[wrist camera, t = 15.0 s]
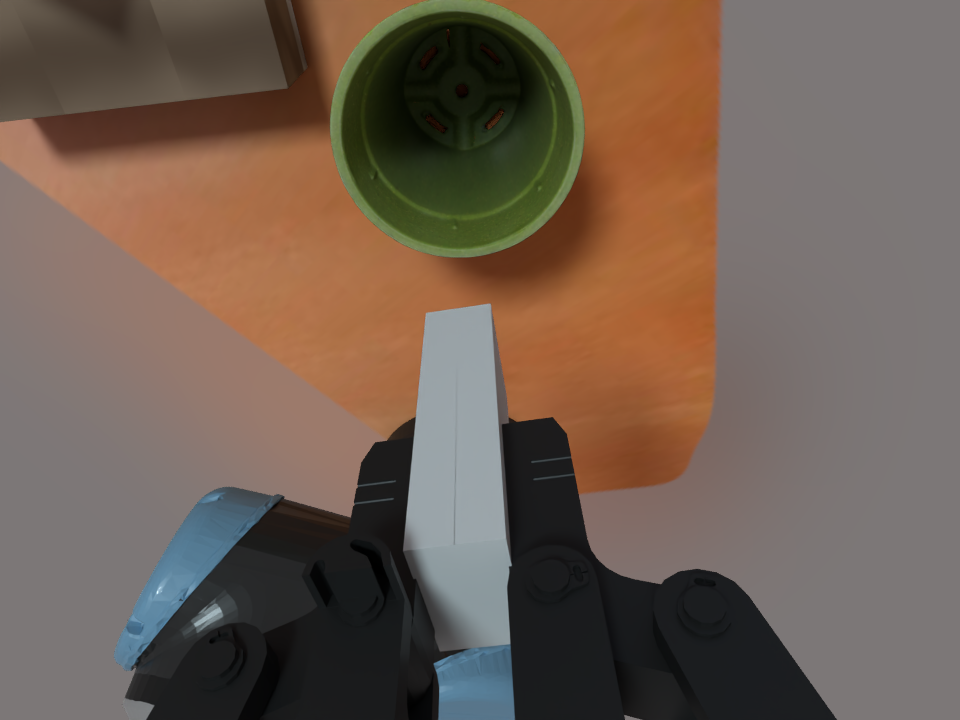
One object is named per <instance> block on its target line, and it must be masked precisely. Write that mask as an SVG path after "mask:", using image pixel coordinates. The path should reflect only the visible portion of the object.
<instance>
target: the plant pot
mask: <svg viewBox="0 0 960 720" xmlns="http://www.w3.org/2000/svg"><path fill="white" fill-rule="evenodd" d="M447 29H449V31H450V32H449V33H450V35H449V36H450V37H449V38H450V46H448V42H447V34H446V31H447ZM480 42H481V43H482V44H483V45H484V46H485V47H486V48H487V49H490V50H491V51H493V52H494V54H496V55H497V57H498V58H499V59H500V64H498V65H497V64H495V62H494V61H493V60H492V59H491V58H490V57H489V56H488V55H487V54H486V53H484V52H483V51H482V50H480V47H481V43H480ZM434 46H436V47H437V49H438V53H437V55H436V56H435V57H434V58H433V59H432V60H431V61H430V63H429V64H428V66H427V67H426V69H425V70H422V69H421V67H420V61H421V59H422V58H423V56H424V55H425V53H426V52H427V51H428V50H430V49H431V47H434ZM449 48H450V49H449ZM461 84H463V85H465V86H467V88H468V93H467V95H466V96H465V97H459V96H458V95H457V94H456V88H457V86H458V85H461ZM414 102H416V103H414ZM417 102H418V103H417ZM500 106H501V107H500ZM499 108H500V109H503V110H504V114H503V115H502V117H501V118H500V120H499V121H498V122H497V123H496V124H495V125H494V126H493V127H492V128H491V129H489V130H488V129H486V128H485V124H486V123H487V122H488V121H489V120H490V119H491V118H492V117H493V116H494V115H495V114H496V113H497V112H498V109H499ZM429 114H431V115H432V116H433V117H434V118H435V119H436V120H437V121H438V122H439V123H440V124H441V125H443V126H445V127H447V130H446V131H445V132H444V133H441V132H439V131H438V130H436V129H435V128H434V127H433V126H432V125H430V124H429V123H428V122H427V121H426V117H427V116H428V115H429ZM584 135H585V125H584V113H583V107H582V102H581V97H580V93H579V90H578V87H577V84H576V81H575V79H574V76H573V74H572V72H571V69H570V68H569V66H568V64H567V62H566V61H565V59H564V57H563V56H562V55H561V53H560V52H559V50H558V49H557V47H556V46H555V45H554V44H553V43H552V42H551V41H550V40H549V38H548V37H547V36H546V35H545V34H544V33H543V32H542V31H540V30H539V29H538V28H537V27H536V26H535V25H533V24H532V23H531V22H529V21H528V20H526V19H525V18H523V17H522V16H520V15H518V14H516V13H515V12H512V11H510V10H508V9H506V8H504V7H502V6H499V5H496V4H493V3H490V2H487V1H483V0H428V1H424V2H420V3H417V4H414V5H411V6H409V7H406V8H404V9H402V10H400V11H398V12H396V13H394V14H393V15H391V16H389V17H388V18H386V19H384V20H383V21H382V22H380V23H379V24H378V25H376V26H375V27H374V28H373V29H372V30H371V31H370V32H369V33H368V34H367V35H366V36H365V37H364V38H363V39H362V40H361V41H360V43H359V44H358V45H357V46H356V48H355V49H354V50H353V52H352V53H351V55H350V57H349V58H348V60H347V62H346V63H345V65H344V67H343V69H342V71H341V74H340V76H339V79H338V82H337V85H336V88H335V92H334V95H333V100H332V106H331V115H330V136H331V144H332V150H333V155H334V159H335V162H336V166H337V169H338V172H339V174H340V177H341V179H342V182H343V184H344V185H345V187H346V189H347V191H348V192H349V194H350V196H351V197H352V199H353V200H354V202H355V203H356V205H357V206H358V207H359V209H360V210H361V211H362V213H363V214H364V215H365V216H366V217H367V218H368V219H369V220H370V221H371V222H372V223H373V224H374V225H375V226H377V227H378V228H379V229H380V230H381V231H383V232H384V233H385V234H387V235H388V236H390V237H392V238H393V239H394V240H396V241H398V242H399V243H401V244H403V245H405V246H407V247H410V248H412V249H414V250H417V251H420V252H423V253H427V254H431V255H435V256H441V257H477V256H483V255H488V254H492V253H495V252H498V251H501V250H504V249H507V248H509V247H511V246H514V245H516V244H518V243H519V242H521V241H523V240H525V239H526V238H528V237H529V236H531V235H532V234H534V233H535V232H536V231H537V230H538V229H540V228H541V227H542V226H543V225H544V224H545V223H546V222H547V221H548V220H549V219H550V218H551V217H552V216H553V215H554V214H555V213H556V211H557V210H558V209H559V207H560V206H561V204H562V203H563V201H564V200H565V198H566V197H567V195H568V193H569V191H570V189H571V187H572V185H573V183H574V181H575V178H576V176H577V173H578V170H579V167H580V163H581V159H582V154H583V147H584ZM474 136H475V139H474Z"/></svg>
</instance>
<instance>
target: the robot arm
mask: <svg viewBox="0 0 960 720" xmlns="http://www.w3.org/2000/svg"><path fill="white" fill-rule="evenodd" d="M357 485H358V488H357V489H356V494H355V499H354V504H355V505H354V506H353V510H352V515H351V518H350V517H346V516H343V515H339V514H335V513H332V512H329V511H325V510H321V509H318V508H314V507H311V506H307V505H304V504H300V503H297V502H293V501H289V500H286V499H284V496H282V495H279V494H277V495H274V496H271V495H266V494H262V493H257V492H253V491H248V490H244V489H239V488H235V487H222V488H219V489H216V490H214V491H212V492H210V493H208V494H206V495H205V496H204V497H203V498H202V499H201V500H200V501H199V502H198V503H197V504H196V505H195V506H194V508H193V509H192V511H191V512H190V513H189V515H188V516H187V517H186V519H185V520H184V522H183V523H182V525H181V526H180V528H179V529H178V531H177V533H176V534H175V536H174V538H173V539H172V541H171V542H170V544H169V546H168V547H167V549H166V550H165V552H164V554H163V555H162V557H161V559H160V561H159V562H158V564H157V566H156V567H155V569H154V571H153V573H152V575H151V576H150V578H149V580H148V582H147V584H146V586H145V587H144V589H143V591H142V593H141V595H140V597H139V599H138V601H137V603H136V605H135V607H134V609H133V614H132V615H131V617H130V618H129V621H128V623H127V625H126V627H125V629H124V630H123V632H122V633H121V635H120V638H119V640H118V643H117V645H116V649H115V653H114V658H115V660H116V663H118V664H119V665H121V666H122V667H123V669H124V670H126V671H127V670H128V671H132V670H133V669H134V668H136V670H135V674H134V676H133V679H132V681H131V684H130V686H129V688H128V691H127V693H126V696H125V698H124V701H123V704H122V705H123V707H124V709H125V712H126V714H127V716H128V718H129V720H625V717H624V715H627V716H630V717H634V718H639V719H642V720H837V719H836V718H835V716H834V715H833V714H832V712H831V711H830V709H829V708H828V707H827V705H826V704H825V702H824V701H823V700H822V698H821V697H820V695H819V694H818V693H817V691H816V690H815V689H814V687H813V686H812V684H811V683H810V681H809V680H808V679H807V677H806V676H805V675H804V673H803V672H802V670H801V669H800V667H799V666H798V665H797V663H796V662H795V660H794V659H793V658H792V656H791V655H790V653H789V652H788V651H787V649H786V648H785V646H784V645H783V644H782V642H781V641H780V639H779V638H778V636H777V635H776V634H775V633H774V631H773V629H772V628H771V627H770V626H769V624H768V622H767V621H766V620H765V618H764V617H763V616H762V614H761V613H760V611H759V610H758V608H757V607H756V606H755V604H754V603H753V601H752V600H751V599H750V597H749V596H748V595H747V594H746V593H745V592H744V591H743V590H742V589H741V588H740V587H739V586H738V585H737V584H736V583H735V582H734V581H732V580H730V579H728V578H726V577H724V576H722V575H720V574H719V573H717V572H712V571H706V570H700V569H693V570H687V571H680V572H677V573H676V574H674V575H672V576H670V577H669V578H667V579H665V580H664V582H663V583H662V584H656V583H651V582H645V581H640V580H635V579H631V578H628V577H624V576H621V575H619V574H617V573H615V572H613V571H611V570H609V569H608V568H606V567H605V566H604V565H603V564H602V563H601V562H599V561H598V559H597V558H596V557H595V555H594V554H593V552H592V551H591V548H590V546H589V543H588V540H587V535H586V531H585V525H584V520H583V515H582V509H581V504H580V499H579V494H578V489H577V484H576V479H575V474H574V468H573V463H572V459H571V453H570V448H569V443H568V438H567V434H566V433H565V431H564V430H563V429H562V428H561V427H560V425H559V424H558V423H557V422H556V421H555V420H554V418H553V417H551V418H543V419H536V420H528V421H521V422H515V421H514V420H512V419H510V418H508V407H507V395H506V390H505V384H504V378H503V372H502V366H501V361H500V355H499V349H498V343H497V338H496V332H495V326H494V320H493V315H492V309H491V304H484V305H477V306H471V307H464V308H457V309H450V310H443V311H437V312H430V313H426V318H425V329H424V339H423V349H422V360H421V370H420V381H419V391H418V401H417V412H416V417H415V418H413V419H411V420H409V421H408V422H406V423H404V424H403V425H402V426H400V427H399V428H398V429H397V430H396V431H395V432H394V433H393V434H392V435H391V436H390V437H389V439H388V440H387V441H383V442H375V444H374V445H373V446H372V448H371V449H370V451H369V452H368V454H367V455H366V457H365V458H364V459H363V461H362V462H361V467H360V473H359V479H358V484H357Z"/></svg>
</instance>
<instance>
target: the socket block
mask: <svg viewBox="0 0 960 720" xmlns="http://www.w3.org/2000/svg"><path fill="white" fill-rule="evenodd" d="M307 68H308V67H307V63H306V59H305V55H304V51H303V47H302V43H301V39H300V35H299V31H298V27H297V23H296V19H295V15H294V11H293V7H292V3H291V0H0V122H5V121H14V120H22V119H31V118H39V117H48V116H56V115H65V114H73V113H82V112H90V111H99V110H108V109H116V108H125V107H133V106H142V105H150V104H159V103H167V102H176V101H184V100H193V99H201V98H210V97H219V96H227V95H236V94H244V93H253V92H261V91H270V90H278V89H287V88H289V87H290V86H291V85H292V84H293V83H294V82H295V81H296V80H297V78H298V77H299V76H300V75H301V74H302V73H303V72H304V71H305V70H306V69H307Z"/></svg>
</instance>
